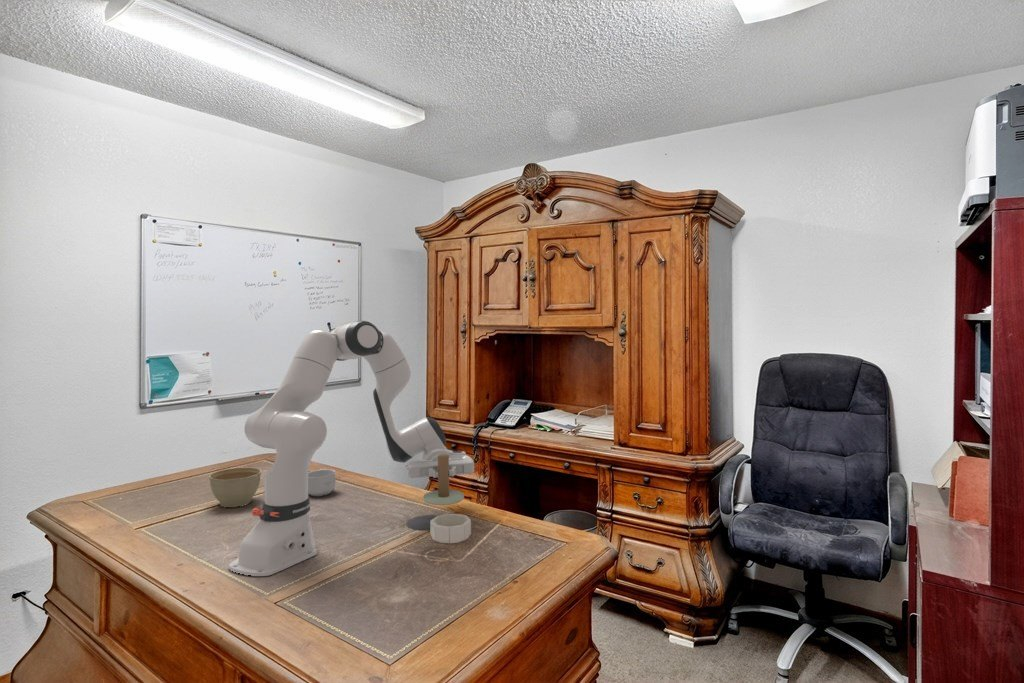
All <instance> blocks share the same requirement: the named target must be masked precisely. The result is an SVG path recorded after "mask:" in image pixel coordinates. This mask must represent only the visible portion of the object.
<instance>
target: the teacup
mask: <svg viewBox="0 0 1024 683" xmlns="http://www.w3.org/2000/svg"><path fill="white" fill-rule="evenodd" d="M335 487H336V470H335V469H332V468H329V469H328V468H321V469H316V470H312V471H308V495H311V496H312V495H313V497H323V495H324V496H327V495H329V494H330V493H332V491H333V490H334V489H335Z"/></svg>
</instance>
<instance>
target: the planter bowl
mask: <svg viewBox="0 0 1024 683" xmlns="http://www.w3.org/2000/svg"><path fill="white" fill-rule="evenodd" d="M261 476H262V470H261V469H260V468H257V467H232V468H226V469H221V470H218V471H215V472H213V473H211V474H209V476H208V477H209V481H210V490H211V492H212V494H213V495H214V497H215V499H216V500H217V501H218V502H219V504H220V505H219V506H220V507H222V506H224V507H223V508H226V507H233V508H234V507H235V508H237V507H236V506H240V507H243V506H242V505H244V506H246V505H245V504H247V505H248V503H249V502H250V503H251V502H252V499H253V498H254V495H255V494H256V492H257V491H258V488H259V485H260V483H261ZM250 503H249V504H250Z"/></svg>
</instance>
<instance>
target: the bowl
mask: <svg viewBox="0 0 1024 683" xmlns="http://www.w3.org/2000/svg"><path fill="white" fill-rule="evenodd" d="M429 531H430V532H429V533H430V536H431V538H432V540H433V541H435V542H437V543H441V544H455V543H461V542H464V541H466V540H468V539H469V537H470V536H471V534H472V520H471V519H470V517H469V516H467V515H466V514H460V513H446V514H441V515H439V514H438V515H437V516H436V517H435V518H434V519H432V520H431V521H430V530H429Z"/></svg>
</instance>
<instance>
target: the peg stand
mask: <svg viewBox="0 0 1024 683" xmlns="http://www.w3.org/2000/svg"><path fill="white" fill-rule="evenodd" d="M438 473H439V474H438V475H439V477H438V478H437V490H431V491H429V492H426V493H424V494H423V496H422V498H423V499H422V500H423V502H424V503H426V504H428V505H432V506H433V505H434V506H447V505H449V506H450V505H453V504H457V503H461V502H462V501H463V500H464V499H465V494H464V493H463V491H460V490H456V489H450V477H449V455H447V454H441V455H438Z"/></svg>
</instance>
